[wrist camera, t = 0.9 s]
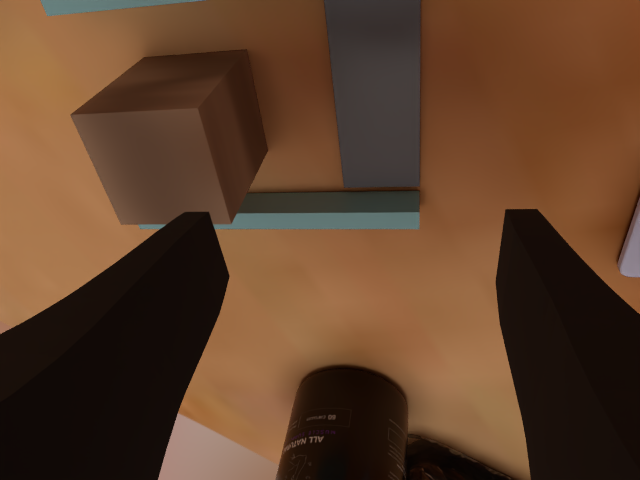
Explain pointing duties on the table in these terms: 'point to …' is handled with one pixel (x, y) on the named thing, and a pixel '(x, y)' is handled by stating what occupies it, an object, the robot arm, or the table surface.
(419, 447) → the pine cone
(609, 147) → the table surface
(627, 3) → the table surface
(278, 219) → the channel
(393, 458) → the supplement bottle
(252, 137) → the walnut block
